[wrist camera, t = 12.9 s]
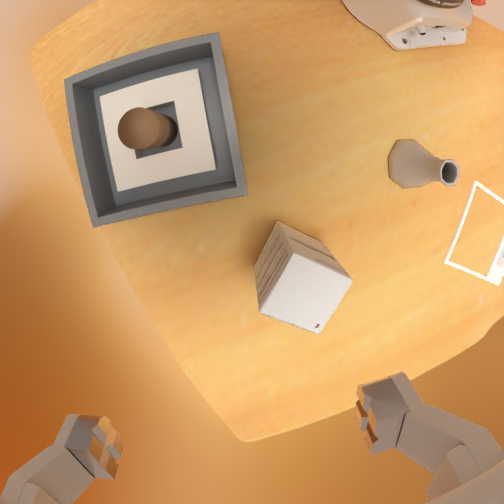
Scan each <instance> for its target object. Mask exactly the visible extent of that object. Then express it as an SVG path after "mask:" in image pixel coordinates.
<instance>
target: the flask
mask: <svg viewBox="0 0 504 504" xmlns="http://www.w3.org/2000/svg"><path fill="white" fill-rule="evenodd" d="M388 161H389V176H390V178H391V179H392V180H393V181H395V182H396V183H397V184H399V185H400V186H401V187H403V188H414V187H421V186H424V185H426V184H429V183H432V182H435V181H439V182H442V183H443V184H444V185H445V186H455V184H456V182H457V180H458V178H459V166H458V165H457V164H456V163H455V162H454V161H453V160H452V159H448V160H441V159H439V158H437V157H435V156H434V155H432V154H431V153H430V152H429V151H427V150H426V149H425V148H424V147H423V146H421V145H420V144H419V143H418V142H417V141H415V140H397V142H396V144H395V146H394V147H393V149H392V151H391V153H390V155H389V156H388Z"/></svg>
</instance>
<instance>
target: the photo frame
mask: <svg viewBox="0 0 504 504" xmlns="http://www.w3.org/2000/svg"><path fill="white" fill-rule="evenodd" d="M476 186H478V187H480V189H482V190H483V191H484V192H486V193H487V194H489V195H490V196H492V197H493V198H495V199H496V200H497V201H499V202H500V203H501V204H503V205H504V200H502V199H501V198H500V197H498V196H497V195H496V194H494V193H493V192H492V191H490V190H489V189H487V188H486V187H484V186H483V185H482V184H480V183H479V182H477V181H476V180H473V183H472V186H471V189H470V192H469V195H468V198H467V201H466V204H465V207H464V210H463V212H462V215H461V218H460V220H459V223H458V226H457V228H456V231H455V233H454V236H453V238H452V241H451V243H450V246H449V248H448V250H447V253H446V255H445V257H444V260H443V263H445V264H448V265H450V266H453V267H455V268H458V269H460V270H463V271H465V272H467V273H470V274H472V275H475V276H477V277H480V278H482V279H484V280H487V281H489V282H491V283H494V284H496V285H498V286H499V284H500V282H501V280H502V278H503V275H504V231H503V234H502V237H501V239H500V242H499V244H498V247H497V249H496V252H495V254H494V257H493V259H492V261H491V264H490V266H489V268H488V270H487V273H486V275H482V274H480V273H478V272H475V271H473V270H471V269H468V268H466V267H464V266H461V265H459V264H456V263H454V262H452V261H448V260H449V258H450V255H451V253H452V251H453V248H454V246H455V244H456V241H457V239H458V236H459V234H460V231H461V229H462V226H463V223H464V221H465V218H466V215H467V212H468V210H469V207H470V204H471V201H472V198H473V195H474V192H475V189H476Z"/></svg>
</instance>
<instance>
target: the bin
mask: <svg viewBox="0 0 504 504" xmlns="http://www.w3.org/2000/svg"><path fill="white" fill-rule="evenodd" d="M64 83H65V92H66V100H67V107H68V114H69V121H70V127H71V133H72V139H73V145H74V150H75V155H76V160H77V165H78V169H79V174H80V179H81V183H82V187H83V191H84V195H85V199H86V203H87V207H88V211H89V215H90V218H91V222H92V226H93V228H94V227H98V226H102V225H106V224H110V223H114V222H119V221H123V220H127V219H131V218H136V217H140V216H145V215H149V214H154V213H158V212H163V211H168V210H172V209H177V208H182V207H187V206H192V205H197V204H202V203H207V202H212V201H217V200H223V199H228V198H233V197H239V196H244V195H248V191H247V185H246V180H245V174H244V168H243V163H242V157H241V152H240V146H239V140H238V135H237V129H236V124H235V118H234V113H233V107H232V101H231V96H230V90H229V85H228V79H227V74H226V68H225V63H224V58H223V52H222V47H221V41H220V36H219V32H217V33H212V34H206V35H201V36H196V37H192V38H187V39H183V40H179V41H175V42H170V43H167V44H163V45H159V46H155V47H152V48H148V49H145V50H142V51H138V52H135V53H132V54H129V55H126V56H123V57H120V58H117V59H114V60H111V61H109V62H106V63H103V64H100V65H98V66H95V67H93V68H90V69H88V70H85V71H83V72H80V73H78V74H76V75H73V76H71V77H69V78H66V79H64ZM137 107H143V108H146V109H149V110H152V111H155V112H158V113H161V114H164V115H167V116H169V117H171V118H172V119H174V121H175V122H176V124H177V127H178V133H177V136H176V138H175V140H174V141H173V142H172V143H171V144H169V145H168V146H165V147H156V148H147V149H137V150H135V149H130V148H128V147H126V146H125V145H124V144H123V143H122V142H121V141H120V139H119V136H118V124H119V121H120V119H121V118H122V116H123V115H124V114H125V113H126V112H127V111H129V110H131V109H133V108H137Z"/></svg>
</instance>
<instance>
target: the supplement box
mask: <svg viewBox="0 0 504 504" xmlns="http://www.w3.org/2000/svg"><path fill="white" fill-rule="evenodd" d="M254 271H255V280H256V288H257V296H258V304H259V312H260V313H262V314H264V315H267V316H269V317H272V318H275V319H277V320H280V321H283V322H286V323H288V324H290V325H293V326H296V327H299V328H302V329H305V330H307V331H310V332H313V333H315V334H320V332H321V330H322V329H323V327H324V326H325V324H326V323H327V321H328V320H329V318H330V317H331V315H332V314H333V312H334V310H335V309H336V307H337V306H338V304H339V303H340V301H341V299H342V298H343V296H344V295H345V293H346V291H347V290H348V288H349V287H350V285H351V283H352V281H353V279H352V278H351V277H350V276H349V274H348V273H347V272H346V271H345V269H344V268H343V267H342V266H341V264H340V263H339V262H338V260H337V259H336V258H335V257H334V255H333V254H332V253H331V252H330V250H329V249H328V248H327V247H326V245H325V244H324V243H323V242H322V241H319V240H317V239H314V238H312V237H310V236H308V235H306V234H304V233H301V232H299V231H297V230H295V229H293V228H291V227H289V226H287V225H285V224H283V223H282V222H280V221H277V222H276V224H275V226H274V228H273V230H272V232H271V234H270V236H269V238H268V240H267V242H266V244H265V245H264V247H263V249H262V251H261V253H260V255H259V257H258V259H257V261H256V263H255V265H254Z"/></svg>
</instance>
